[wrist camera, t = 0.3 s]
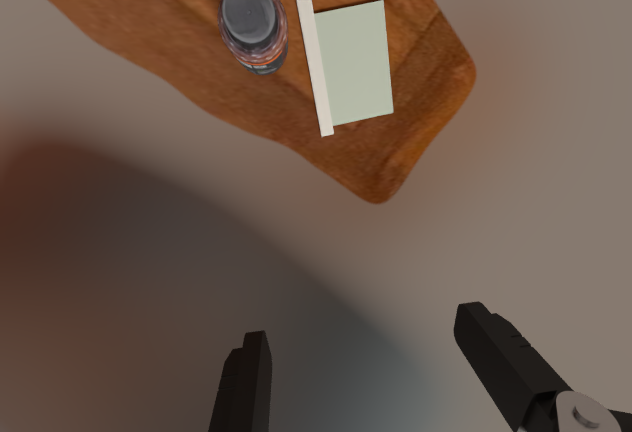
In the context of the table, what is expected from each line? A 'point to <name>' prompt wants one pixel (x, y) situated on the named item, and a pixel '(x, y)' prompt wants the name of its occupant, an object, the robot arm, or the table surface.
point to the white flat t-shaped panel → (347, 62)
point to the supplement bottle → (255, 33)
